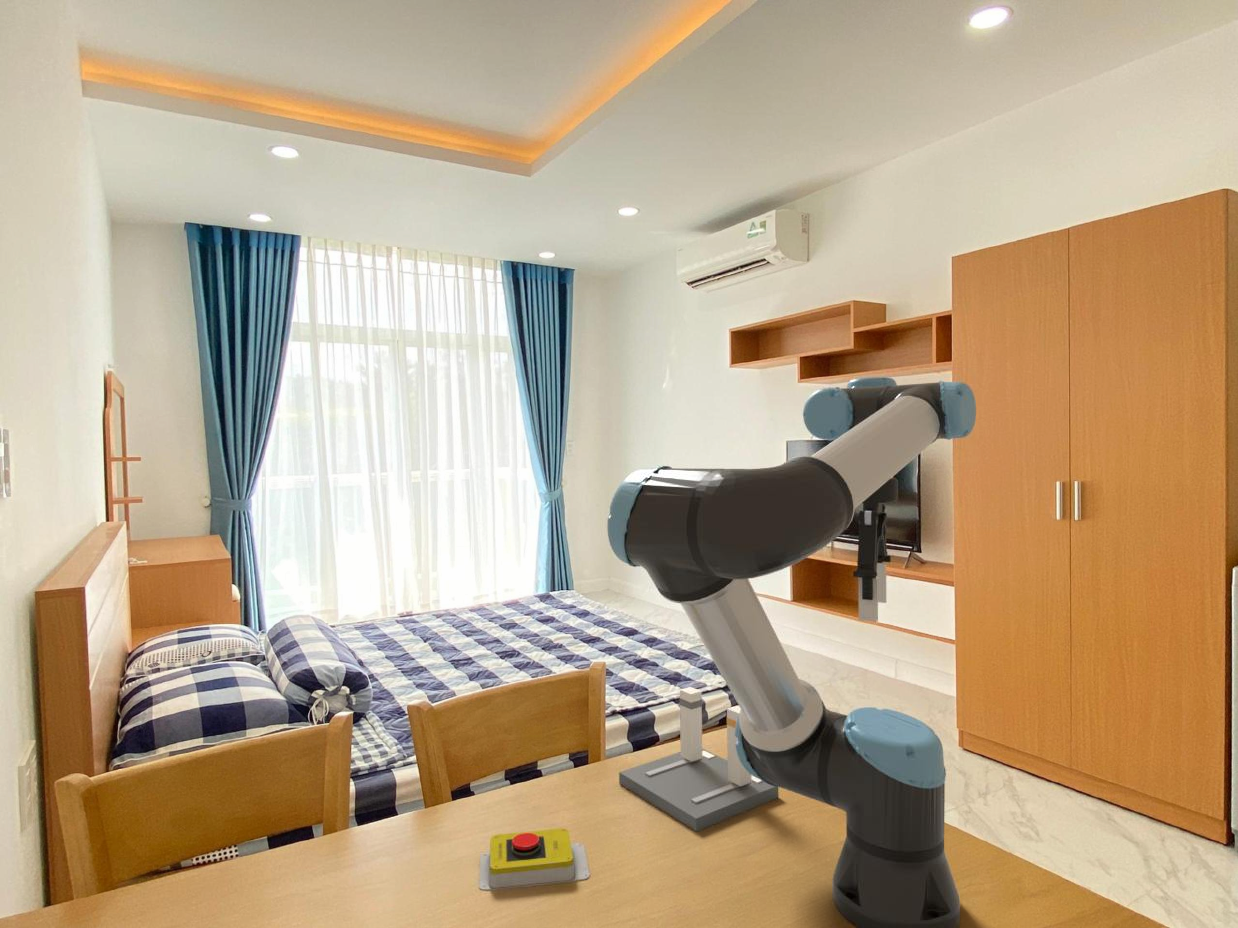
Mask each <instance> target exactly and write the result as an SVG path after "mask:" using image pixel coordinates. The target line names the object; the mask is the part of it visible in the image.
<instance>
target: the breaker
mask: <svg viewBox="0 0 1238 928" xmlns="http://www.w3.org/2000/svg"><path fill="white" fill-rule="evenodd" d="M702 694H703V693H702V690H699V689H697V688H694V687H692V686H688V687H685V688H682V689H679V726H680V727H679V728H680V729H679V730H680V731H679V732H680V733H679V734H680V735H679V736H680V739H679V740H680V752H681V756H682V757H684V758H685V759H687V760H689V761H691V762H692V761H695V760H698V759H701V758H702V749H703V715H702V712H703V711H702V708H703V699H702Z"/></svg>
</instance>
